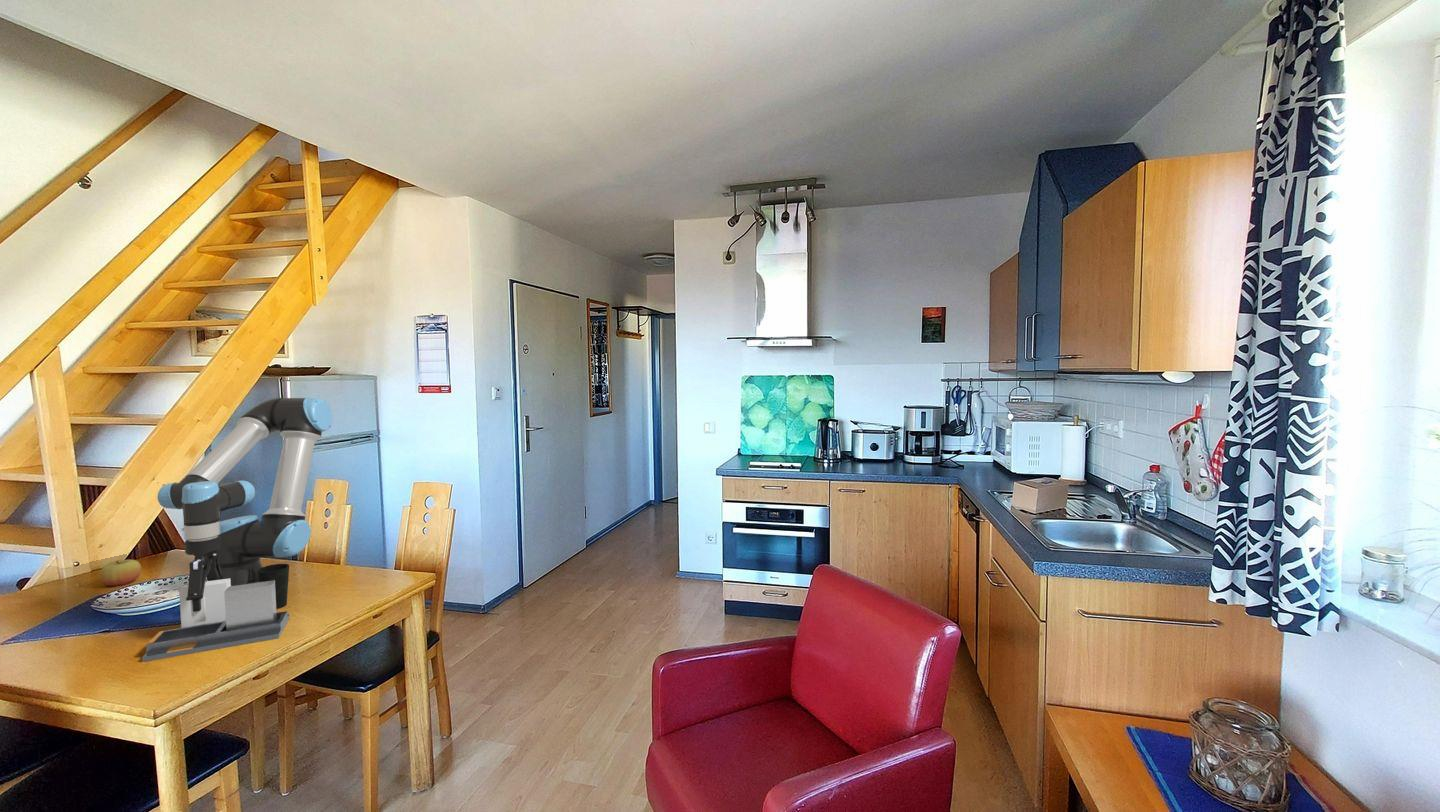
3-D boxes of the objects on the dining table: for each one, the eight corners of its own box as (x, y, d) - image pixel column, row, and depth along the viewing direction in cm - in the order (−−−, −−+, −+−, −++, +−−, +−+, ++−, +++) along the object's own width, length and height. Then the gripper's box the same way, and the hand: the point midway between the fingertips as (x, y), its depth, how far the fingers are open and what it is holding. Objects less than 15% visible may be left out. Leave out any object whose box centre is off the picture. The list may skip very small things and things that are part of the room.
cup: (273, 612, 168) (271, 573, 168) (252, 610, 170) (250, 571, 169) (297, 602, 176) (295, 564, 175) (277, 600, 178) (275, 562, 177)
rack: (165, 638, 152) (162, 590, 152) (289, 617, 165) (287, 573, 164) (142, 661, 140) (139, 609, 139) (278, 638, 153) (276, 590, 152)
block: (186, 626, 160) (184, 584, 159) (232, 618, 164) (230, 578, 164) (181, 631, 156) (179, 589, 155) (228, 624, 161) (226, 582, 160)
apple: (97, 584, 190) (95, 561, 190) (138, 576, 198) (137, 553, 198) (103, 591, 185) (101, 567, 184) (145, 582, 193) (144, 559, 192)
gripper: (200, 528, 168) (204, 599, 169) (167, 551, 146) (172, 633, 148) (232, 525, 171) (236, 595, 173) (205, 547, 150) (210, 627, 151)
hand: (206, 612), depth 160 cm, fingers open, 12 cm apart
